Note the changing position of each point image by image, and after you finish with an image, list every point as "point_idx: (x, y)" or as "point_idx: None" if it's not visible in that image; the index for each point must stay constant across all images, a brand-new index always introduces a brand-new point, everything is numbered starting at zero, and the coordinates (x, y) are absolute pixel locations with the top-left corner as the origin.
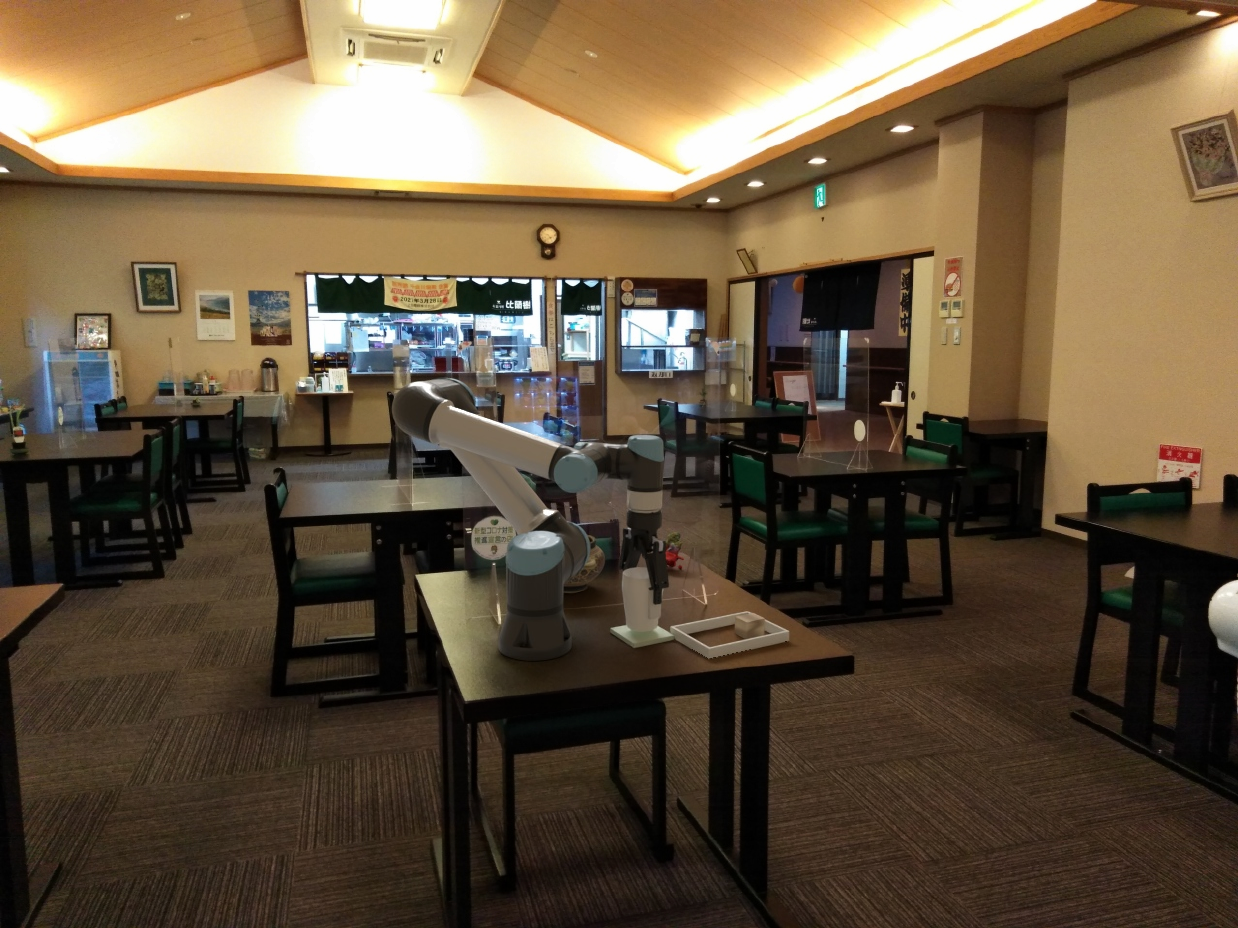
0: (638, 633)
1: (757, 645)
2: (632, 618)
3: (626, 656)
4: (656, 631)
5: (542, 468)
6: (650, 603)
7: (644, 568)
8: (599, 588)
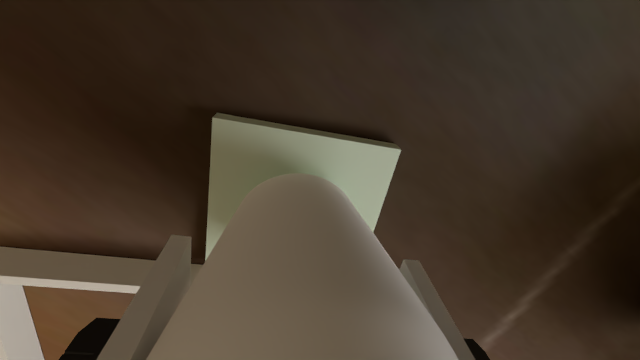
0: None
1: None
2: (274, 195)
3: (151, 22)
4: None
5: None
6: (130, 307)
7: None
8: (636, 321)
